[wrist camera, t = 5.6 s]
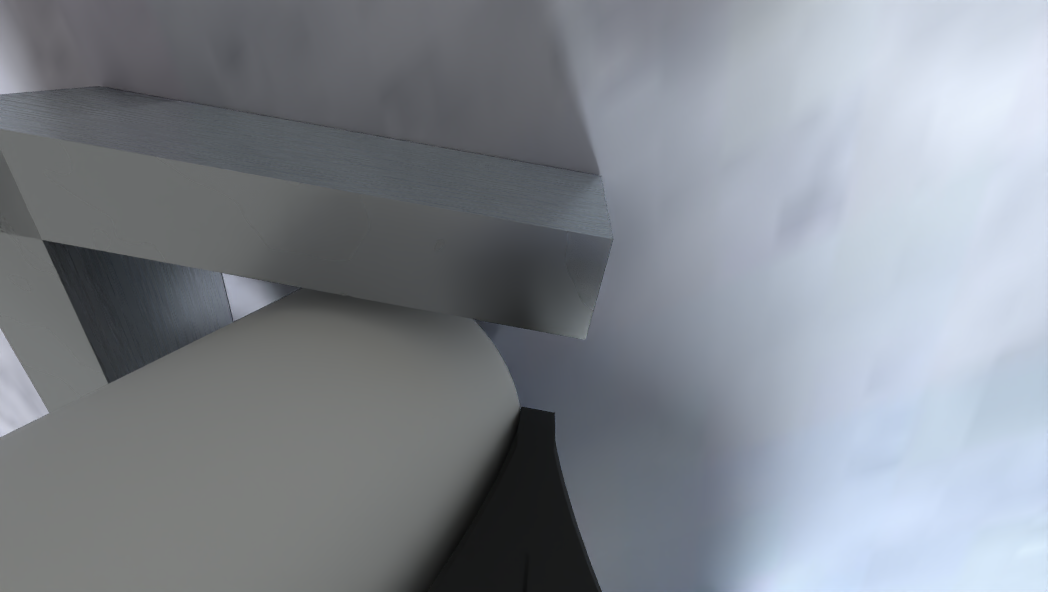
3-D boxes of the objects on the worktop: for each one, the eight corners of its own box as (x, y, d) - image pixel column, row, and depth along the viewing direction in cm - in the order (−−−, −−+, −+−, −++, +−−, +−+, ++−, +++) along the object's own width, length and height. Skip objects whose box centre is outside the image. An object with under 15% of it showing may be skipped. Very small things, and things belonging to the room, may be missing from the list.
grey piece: (523, 497, 15) (510, 612, 12) (212, 438, 15) (121, 537, 12) (600, 175, 9) (613, 239, 6) (99, 86, 9) (-130, 105, 6)
